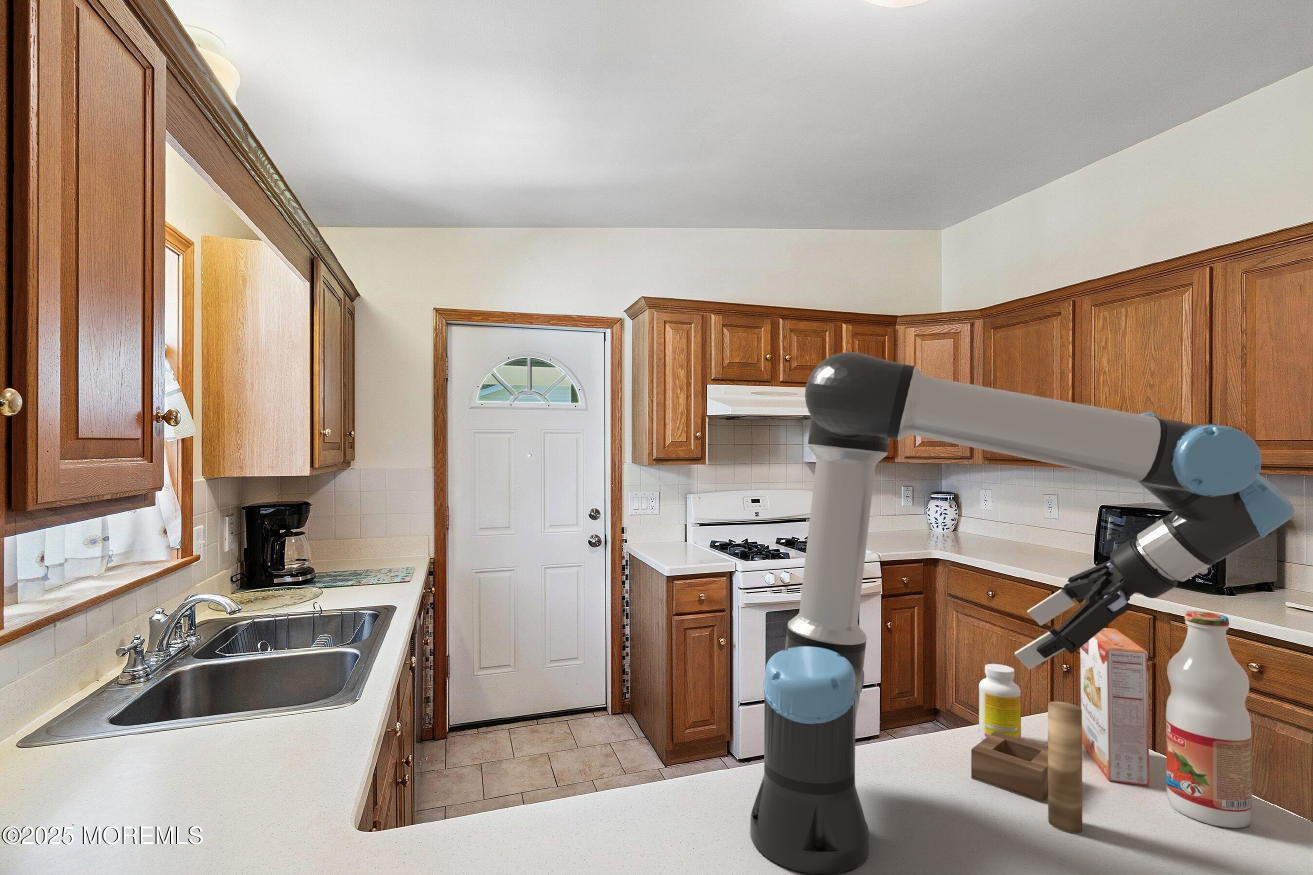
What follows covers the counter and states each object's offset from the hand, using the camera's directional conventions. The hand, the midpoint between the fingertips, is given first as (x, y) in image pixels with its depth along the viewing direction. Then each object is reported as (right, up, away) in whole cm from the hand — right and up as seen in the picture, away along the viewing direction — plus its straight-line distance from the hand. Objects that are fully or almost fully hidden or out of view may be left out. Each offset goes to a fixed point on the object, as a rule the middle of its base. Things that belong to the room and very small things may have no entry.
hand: (1028, 638), depth 101 cm
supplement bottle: (+5, -24, +17) cm, 30 cm away
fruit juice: (+22, -23, -6) cm, 33 cm away
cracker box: (+19, -24, +8) cm, 31 cm away
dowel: (0, -23, -10) cm, 25 cm away
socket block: (0, -23, +3) cm, 23 cm away
